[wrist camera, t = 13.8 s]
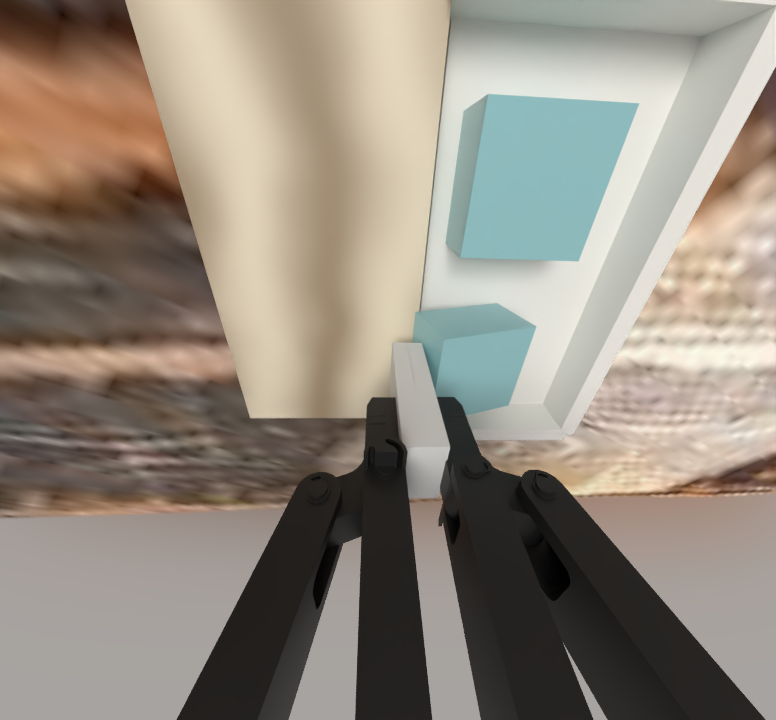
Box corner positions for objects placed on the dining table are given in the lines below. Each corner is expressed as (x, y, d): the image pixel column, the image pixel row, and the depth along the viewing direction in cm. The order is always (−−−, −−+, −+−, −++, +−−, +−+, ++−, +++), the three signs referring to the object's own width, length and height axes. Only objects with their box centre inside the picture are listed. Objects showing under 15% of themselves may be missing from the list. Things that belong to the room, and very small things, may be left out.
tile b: (407, 389, 17) (430, 424, 15) (415, 312, 15) (443, 339, 12) (478, 375, 19) (508, 405, 17) (497, 303, 16) (536, 326, 14)
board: (260, 397, 20) (250, 418, 18) (158, 3, 10) (116, -30, 9) (405, 398, 20) (408, 418, 19) (440, 23, 11) (452, -4, 9)
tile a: (445, 242, 14) (460, 257, 12) (463, 110, 12) (488, 93, 9) (543, 246, 15) (578, 261, 12) (583, 117, 12) (639, 103, 9)
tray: (401, 408, 21) (405, 440, 18) (438, -19, 10) (459, -82, 8) (547, 408, 22) (570, 440, 19) (728, 6, 11) (837, -45, 8)
